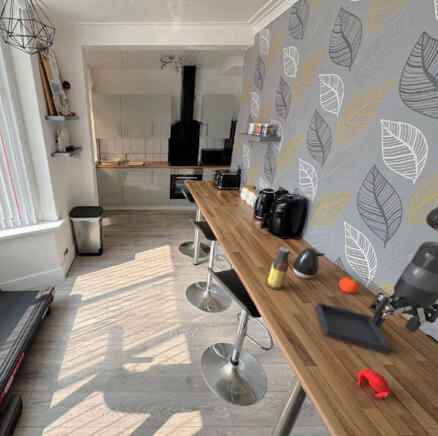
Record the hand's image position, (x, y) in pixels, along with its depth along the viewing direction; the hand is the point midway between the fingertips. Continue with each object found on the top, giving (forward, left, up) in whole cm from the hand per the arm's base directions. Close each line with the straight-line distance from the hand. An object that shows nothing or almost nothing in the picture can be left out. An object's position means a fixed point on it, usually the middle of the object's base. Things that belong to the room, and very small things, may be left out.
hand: (392, 327), depth 66 cm
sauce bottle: (+24, -32, -18) cm, 44 cm away
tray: (0, -17, -18) cm, 24 cm away
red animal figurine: (+2, +7, -18) cm, 20 cm away
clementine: (-7, -42, -18) cm, 46 cm away
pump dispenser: (+10, -47, -18) cm, 51 cm away
